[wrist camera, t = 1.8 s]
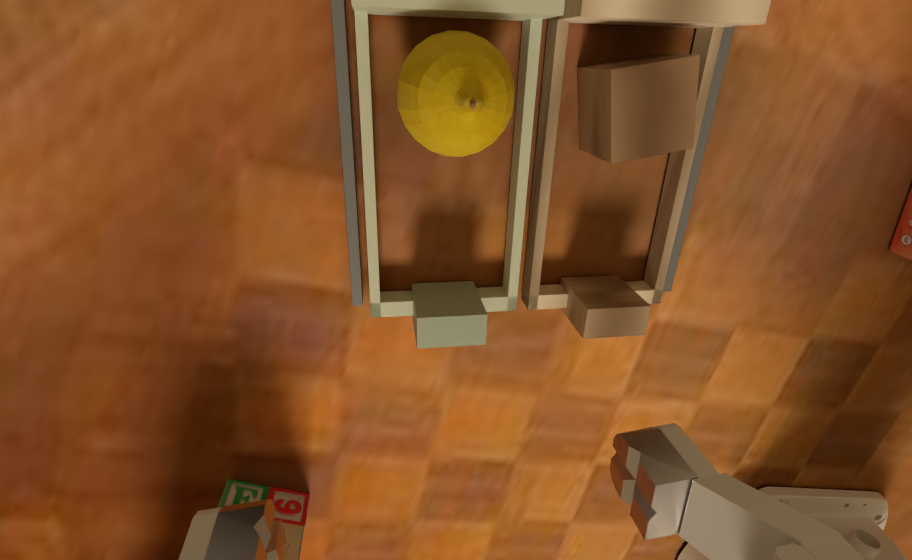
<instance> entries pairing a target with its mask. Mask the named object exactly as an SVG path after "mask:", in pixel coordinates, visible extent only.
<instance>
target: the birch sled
mask: <svg viewBox="0 0 912 560" xmlns="http://www.w3.org/2000/svg"><path fill="white" fill-rule="evenodd" d="M770 3H771V0H565V5H564V15H562V16H557V17H552V18H548V29H547V39H546V50H545V60H544V71H543V81H542V92H541V102H540V113H539V123H538V134H537V144H536V155H535V165H534V176H533V186H532V197H531V207H530V217H529V228H528V238H527V249H526V259H525V270H524V280H523V291H522V300H523V302H524V304H525V305H526V307H527V309H528V310H533V309H553V308H561V309H562V310H563V312H564V313H565V314H566V316H567V317H568V319H569V320H570V321H571V323H572V324H573V325H574V327H575V328H576V330H577V331H578V332H579V334H580V335H581V336H582V338H583V339H586V338H602V337H619V336H636V335H645V332H646V328H647V323H648V319H649V314H650V310H651V305H649V304H653V303H660V301H661V296H662V292H663V288H664V283H665V279H666V275H667V270H668V266H669V262H670V257H671V253H672V249H673V245H674V240H675V236H676V232H677V227H678V223H679V219H680V214H681V210H682V206H683V202H684V197H685V193H686V189H687V184H688V180H689V176H690V171H691V167H692V163H693V158H694V154H695V150H696V146H697V141H698V137H699V133H700V128H701V124H702V120H703V115H704V111H705V107H706V103H707V98H708V94H709V90H710V85H711V81H712V77H713V72H714V68H715V64H716V60H717V55H718V51H719V47H720V42H721V38H722V34H723V29H724V27H733V26H746V25H759V24H765V22H766V19H767V15H768V11H769V7H770ZM569 23H588V24H612V25H636V26H660V27H683V28H697V29H696V34H695V39H694V43H693V48H692V53H691V55H700V62H699V76H698V90H697V104H696V118H695V132H694V146H693V149H687V150H682V151H676V152H671V153H670V157H669V162H668V166H667V171H666V176H665V181H664V185H663V190H662V195H661V200H660V204H659V209H658V214H657V218H656V223H655V228H654V233H653V237H652V242H651V247H650V252H649V256H648V261H647V266H646V271H645V275H644V280H643V281H623V280H622V279H621V278H620V277H619V276H618V275H610V276H585V277H561V283H560V284H553V285H540V278H541V269H542V260H543V251H544V242H545V233H546V224H547V215H548V206H549V197H550V188H551V179H552V170H553V161H554V152H555V143H556V134H557V125H558V116H559V107H560V98H561V89H562V80H563V72H564V63H565V54H566V45H567V36H568V27H569Z"/></svg>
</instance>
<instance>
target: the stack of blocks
mask: <svg viewBox="0 0 912 560" xmlns="http://www.w3.org/2000/svg"><path fill="white" fill-rule="evenodd" d="M309 497H310V494H308V493H303V492H298V491H292V490H287V489H282V488H276V487H268V486H263V485H258V484H252V483H247V482H242V481H236V480H232V479H228V480H227V483H226V486H225V488H224V491H223V494H222V496H221V499H220V501H219V504H218V507H223V506H229V505H235V504H242V503H248V502H254V501H260V500H267V499H272V502H273V505H274V507H275V514H274V520H276V521H278V522H280V525H281V528H282V532H283V539H284V557H283V560H299V558H300V550H301V543H302V538H303V531H304V528H305V523H306V517H307V509H308V503H309ZM218 507H217V508H218Z"/></svg>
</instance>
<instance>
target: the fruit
mask: <svg viewBox="0 0 912 560" xmlns="http://www.w3.org/2000/svg"><path fill="white" fill-rule="evenodd" d="M514 96H515V85H514V81H513V77H512V73H511V69H510V67H509V65H508V63H507V62H506V60H505V59H504V57H503V55H502V54H501V52H500V51H499V50H498V49H497V48H496V47H494V46H493V45H492V44H491V43H490V42H489V41H488V40H486V39H485V38H483V37H480V36H478V35H475V34H473V33H471V32H468V31H456V30H448V31H444V32H441V33H437V34H434V35H431V36H429V37H428V38H427V39H425V40H424V41H422V42H421V43H419V44H418V45H416V46H415V48H414V49H413V50H412V52H411V53H410V54H409V56H408V57H407V58H406V60H405V61H404V63H403V66H402V69H401V71H400V74H399V77H398V82H397V103H398V110H399V112H400V115H401V118H402V120H403V123H404V125H405V127H406V128H407V129H408V131H409V132H410V133H411V135H412V136H413V137H414V139H415V140H416V141H418V142H419V143H421V144H422V145H423V146H425V147H426V148H427V149H429V150H430V151H433V152H435V153H438V154H441V155H444V156H457V157H463V156H467V155H470V154H474V153H477V152H480V151H481V150H483V149H484V148H486V147H488V146H489V145H491V144H492V143H494V142H495V140H496V139H497V138H498V137H499V136H500V135H501V133H502V132H503V131H504V130H505V128H506V126H507V124H508V122H509V120H510V117H511V115H512V112H513V106H514Z"/></svg>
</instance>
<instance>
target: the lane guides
mask: <svg viewBox="0 0 912 560" xmlns="http://www.w3.org/2000/svg"><path fill="white" fill-rule="evenodd" d="M331 9H332V23H333V37H334V51H335V65H336V79H337V93H338V107H339V121H340V135H341V149H342V163H343V177H344V191H345V205H346V219H347V233H348V247H349V261H350V275H351V289H352V303H353V306H361V305H363V291H362V275H361V258H360V242H359V225H358V209H357V193H356V176H355V160H354V143H353V127H352V111H351V94H350V78H349V61H348V45H347V28H346V12H345V0H331ZM733 30H734V26H733V27H724V29H723V34H722V38H721V42H720V47H719V51H718V55H717V60H716V64H715V68H714V72H713V77H712V81H711V85H710V90H709V94H708V98H707V103H706V107H705V111H704V115H703V120H702V124H701V128H700V133H699V137H698V141H697V146H696V150H695V154H694V158H693V163H692V167H691V171H690V176H689V180H688V184H687V189H686V193H685V197H684V202H683V206H682V210H681V214H680V219H679V223H678V227H677V232H676V236H675V240H674V245H673V249H672V253H671V257H670V262H669V266H668V270H667V275H666V279H665V283H664V288H663V292H665V291H671V288H672V284H673V280H674V276H675V272H676V268H677V263H678V259H679V255H680V251H681V247H682V243H683V239H684V234H685V230H686V226H687V222H688V218H689V214H690V209H691V205H692V201H693V197H694V193H695V189H696V184H697V180H698V176H699V172H700V168H701V164H702V159H703V155H704V151H705V147H706V143H707V139H708V134H709V130H710V126H711V122H712V118H713V114H714V110H715V105H716V101H717V97H718V93H719V89H720V85H721V80H722V76H723V72H724V68H725V64H726V60H727V55H728V51H729V47H730V43H731V39H732V35H733Z"/></svg>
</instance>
